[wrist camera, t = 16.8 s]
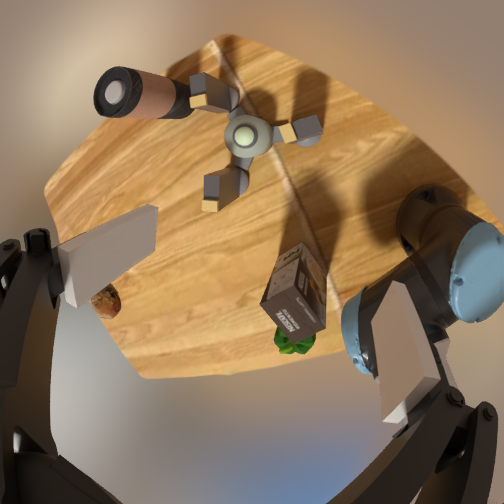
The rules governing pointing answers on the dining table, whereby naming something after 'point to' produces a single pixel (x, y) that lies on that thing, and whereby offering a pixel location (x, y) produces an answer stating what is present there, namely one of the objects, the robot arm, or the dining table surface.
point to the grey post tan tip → (212, 94)
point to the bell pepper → (297, 347)
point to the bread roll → (106, 304)
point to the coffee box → (296, 294)
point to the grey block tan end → (223, 188)
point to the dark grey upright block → (302, 131)
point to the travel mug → (141, 95)
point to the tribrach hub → (249, 137)
